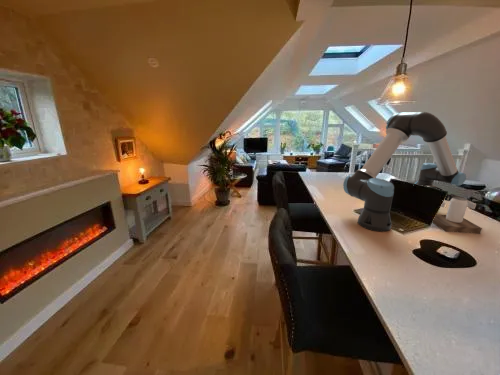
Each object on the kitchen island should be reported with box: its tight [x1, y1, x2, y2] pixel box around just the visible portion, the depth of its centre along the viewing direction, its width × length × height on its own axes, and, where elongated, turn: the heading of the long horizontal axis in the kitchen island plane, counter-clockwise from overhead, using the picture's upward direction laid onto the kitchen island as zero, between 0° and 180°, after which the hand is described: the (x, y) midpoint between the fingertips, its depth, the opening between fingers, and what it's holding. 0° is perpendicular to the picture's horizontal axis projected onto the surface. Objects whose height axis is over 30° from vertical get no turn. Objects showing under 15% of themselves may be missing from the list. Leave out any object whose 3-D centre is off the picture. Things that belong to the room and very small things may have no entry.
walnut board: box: [432, 213, 483, 235], centre depth 116 cm, size 15×15×3 cm
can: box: [445, 196, 468, 223], centre depth 114 cm, size 6×6×12 cm
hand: (459, 205), depth 113 cm, fingers open, 13 cm apart
